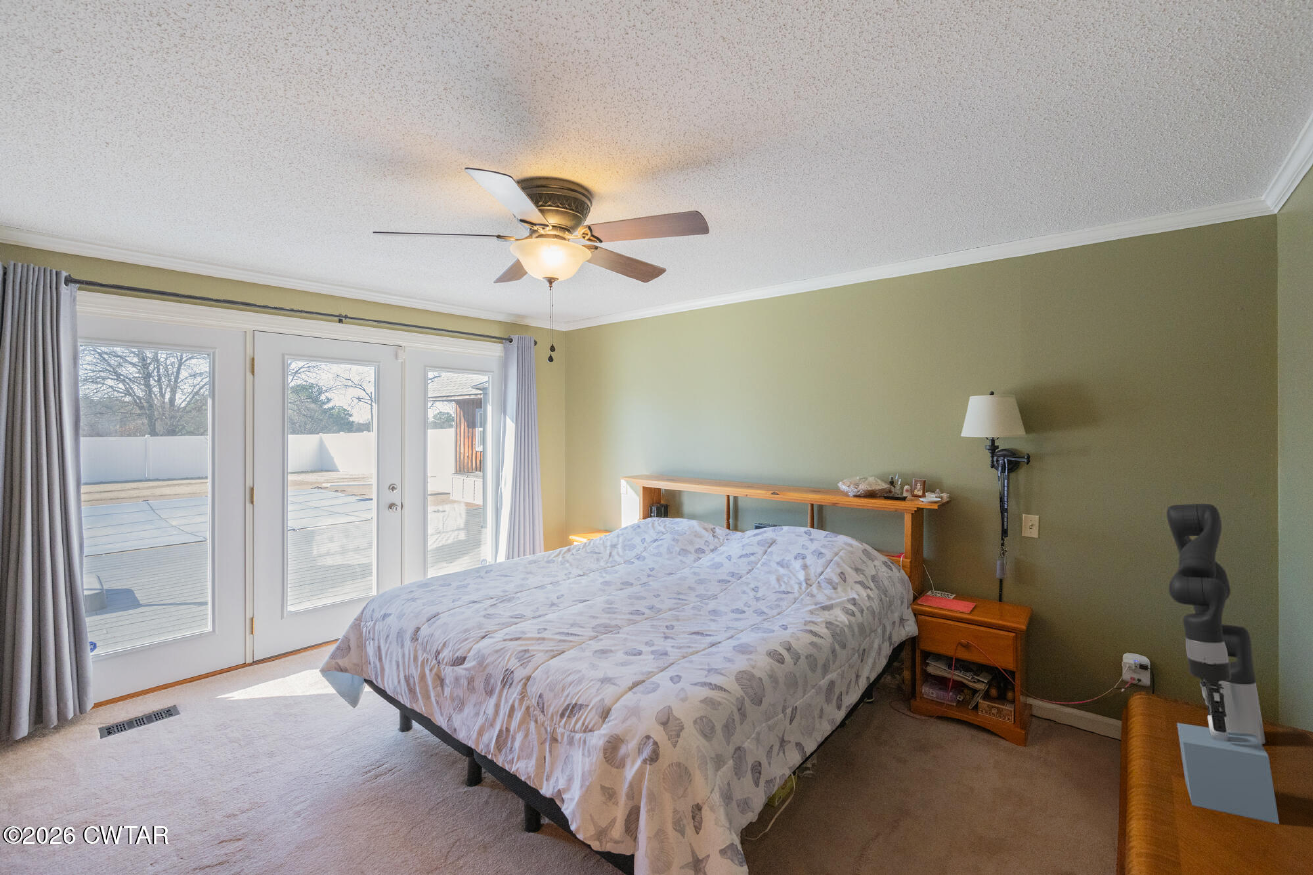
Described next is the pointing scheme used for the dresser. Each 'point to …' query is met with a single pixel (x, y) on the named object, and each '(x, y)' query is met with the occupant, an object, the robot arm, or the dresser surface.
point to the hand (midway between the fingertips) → (1217, 726)
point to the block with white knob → (1227, 772)
